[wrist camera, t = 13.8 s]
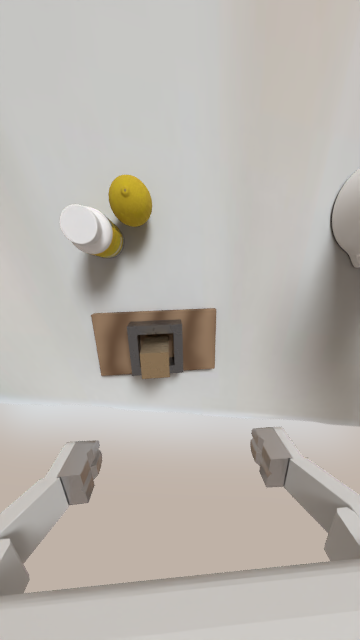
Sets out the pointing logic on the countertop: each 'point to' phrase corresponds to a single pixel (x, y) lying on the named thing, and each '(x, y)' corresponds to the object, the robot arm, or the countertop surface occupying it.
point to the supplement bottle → (91, 231)
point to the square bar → (155, 356)
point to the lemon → (130, 200)
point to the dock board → (115, 338)
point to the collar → (155, 328)
